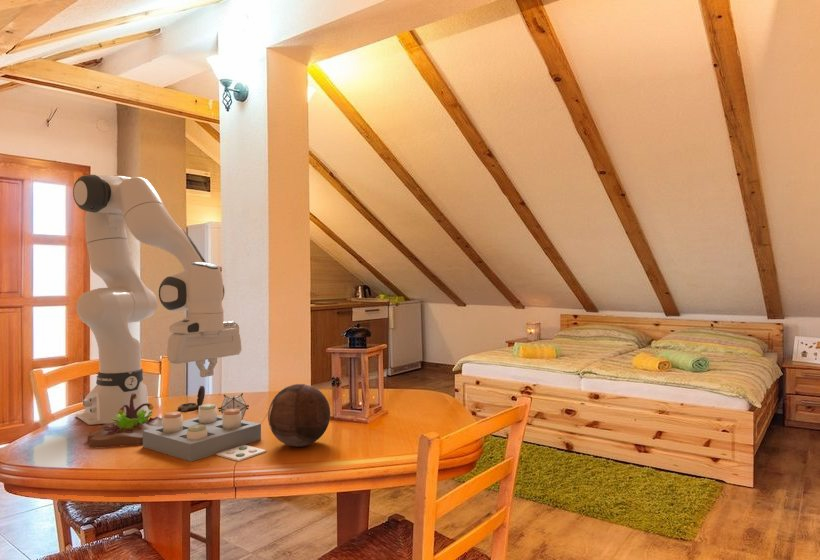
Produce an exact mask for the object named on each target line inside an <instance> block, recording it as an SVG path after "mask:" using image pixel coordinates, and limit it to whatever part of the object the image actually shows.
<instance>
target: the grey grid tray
mask: <svg viewBox="0 0 820 560" xmlns="http://www.w3.org/2000/svg"><path fill="white" fill-rule="evenodd" d="M241 422H242V427H239V428H236V429H232V430H227V429H223V426H222V414H217V421H216V422H212V423H208V424H201V423H199V416H197V417H193V418H188V419H185V420H184V419H183V430H182V431H178V432H174V433H170V434H167V433H164V432H163V426H160V427H156V428H152V429H148V430H144V431H143V444H142V448H145V449H149V450H151V451H154V452H158V453H161V454H165V455H167V454H168V456H171V457H174V458H177V459H180V458H181V459H180V460H184V461H188V462H195V461H198V460H201V459H204V458H206V457H207V458H208V457H210V456H213V455H217V453H220V452H223V451H226V450H229V449H232V448H236V447H239V446H242V445H248V444H252V443H254V442H258V441H261V440H262V424H261V423H259V422H253V421H249V420H244V419H242V420H241ZM192 425H206V427H207V437H204V438H201V439H197V440H194V441H193V440H189V439H187V429H188V427H189V426H192Z"/></svg>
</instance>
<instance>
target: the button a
mask: <svg viewBox="0 0 820 560" xmlns="http://www.w3.org/2000/svg"><path fill="white" fill-rule="evenodd" d="M162 418H163V432H164V433H167V434H170V433H174V432H178V431H182V430H183V421H184V417H183V414H182V411H171V412H166V413H164V414H163V416H162Z"/></svg>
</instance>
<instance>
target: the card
mask: <svg viewBox="0 0 820 560" xmlns="http://www.w3.org/2000/svg"><path fill="white" fill-rule="evenodd" d="M264 453H267V449H263V448H260V447H255V446H251V445H248V444H245V445H242V446H239V447H236V448H232V449H229V450H226V451H223V452H220V453H217V454H216V456H218V457H222V458H225V459H228V460H232V461H235V462H241V461H244V460H247V459H250V458H253V457H256V456H258V455H261V454H264Z"/></svg>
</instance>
